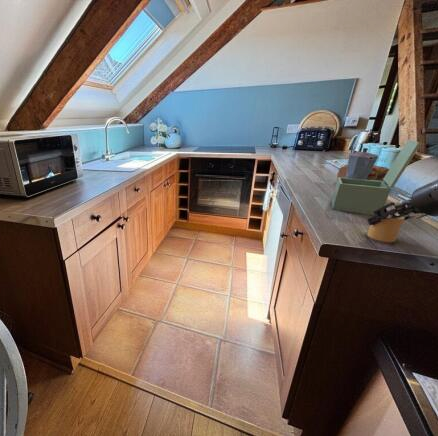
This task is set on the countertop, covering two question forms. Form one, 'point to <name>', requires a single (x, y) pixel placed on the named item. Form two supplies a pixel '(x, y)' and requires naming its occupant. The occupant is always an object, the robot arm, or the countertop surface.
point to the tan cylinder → (386, 230)
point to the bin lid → (401, 162)
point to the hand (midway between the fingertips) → (380, 221)
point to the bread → (375, 174)
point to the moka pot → (360, 164)
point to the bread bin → (359, 195)
